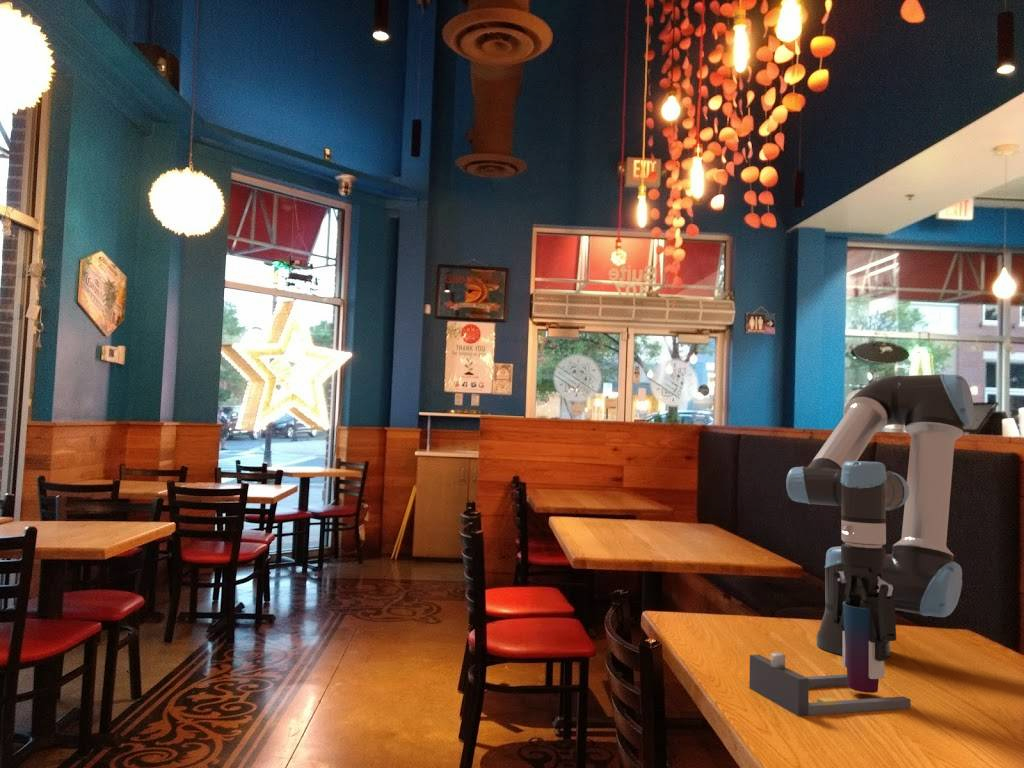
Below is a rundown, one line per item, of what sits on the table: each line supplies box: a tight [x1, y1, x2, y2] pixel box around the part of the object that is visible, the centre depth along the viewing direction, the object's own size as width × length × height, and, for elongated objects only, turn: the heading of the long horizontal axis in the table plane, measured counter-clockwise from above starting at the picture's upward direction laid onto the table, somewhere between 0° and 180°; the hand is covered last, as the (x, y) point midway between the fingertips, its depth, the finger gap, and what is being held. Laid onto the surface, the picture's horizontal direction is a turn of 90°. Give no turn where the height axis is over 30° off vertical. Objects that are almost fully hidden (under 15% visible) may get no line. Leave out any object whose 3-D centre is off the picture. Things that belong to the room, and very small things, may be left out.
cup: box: [843, 601, 880, 694], centre depth 135 cm, size 7×7×15 cm
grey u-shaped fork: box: [749, 652, 912, 717], centre depth 133 cm, size 23×14×8 cm, turn 106°
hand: (862, 671), depth 135 cm, fingers closed on cup, 6 cm apart
